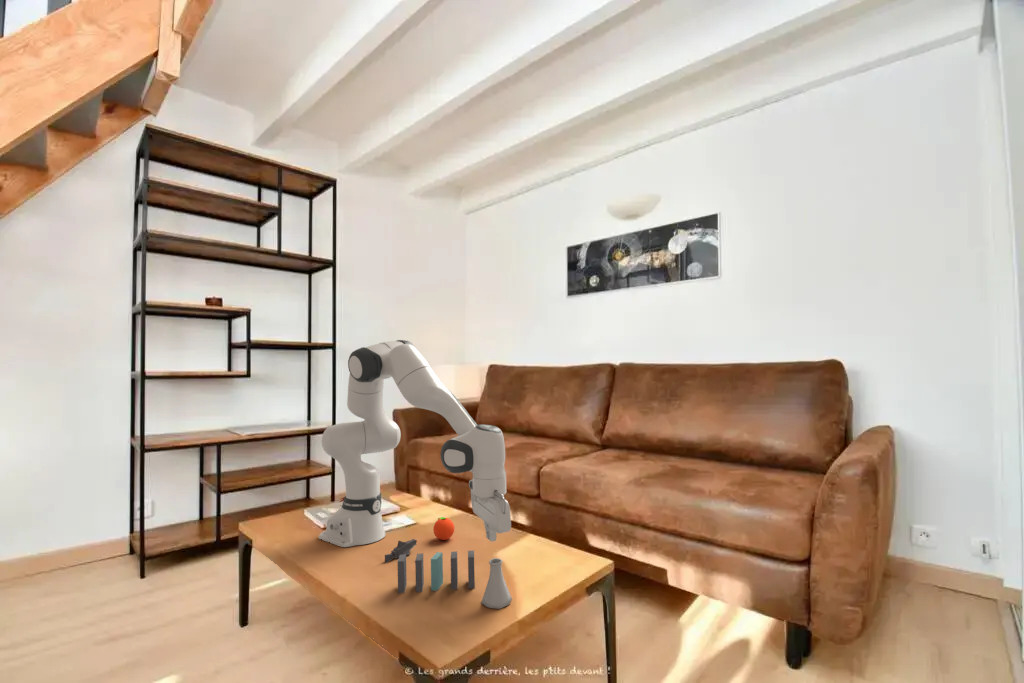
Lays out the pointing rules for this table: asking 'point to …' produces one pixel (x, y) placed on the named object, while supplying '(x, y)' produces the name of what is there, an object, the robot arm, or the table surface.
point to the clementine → (443, 528)
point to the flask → (496, 587)
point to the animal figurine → (401, 549)
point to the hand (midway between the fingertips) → (491, 539)
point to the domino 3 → (436, 571)
